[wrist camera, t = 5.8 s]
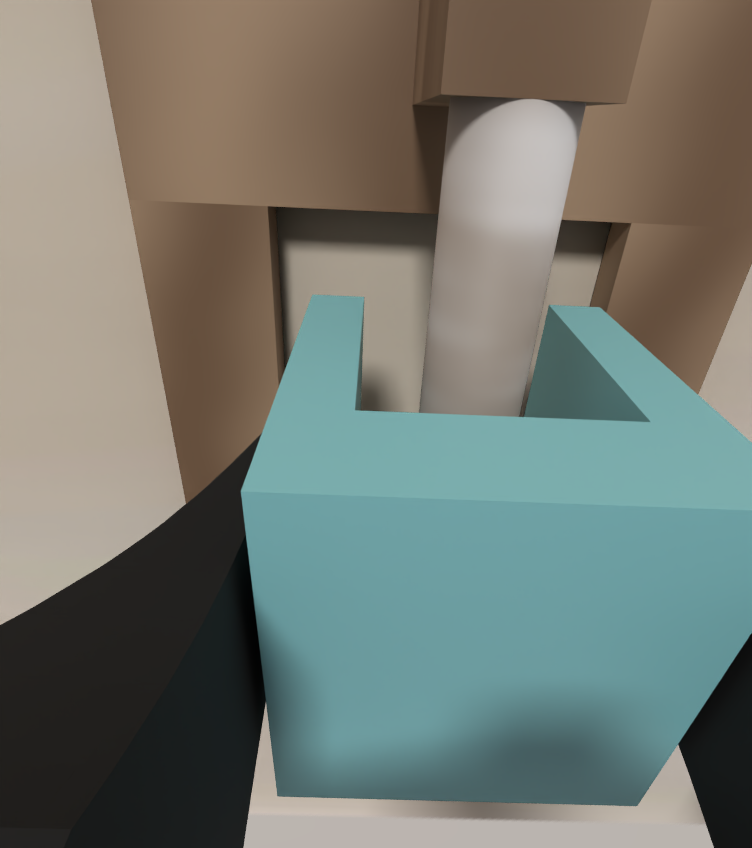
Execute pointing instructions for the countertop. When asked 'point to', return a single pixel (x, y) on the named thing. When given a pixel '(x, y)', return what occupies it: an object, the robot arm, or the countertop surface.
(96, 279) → the countertop surface
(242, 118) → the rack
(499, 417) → the teal notched block
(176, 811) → the robot arm
